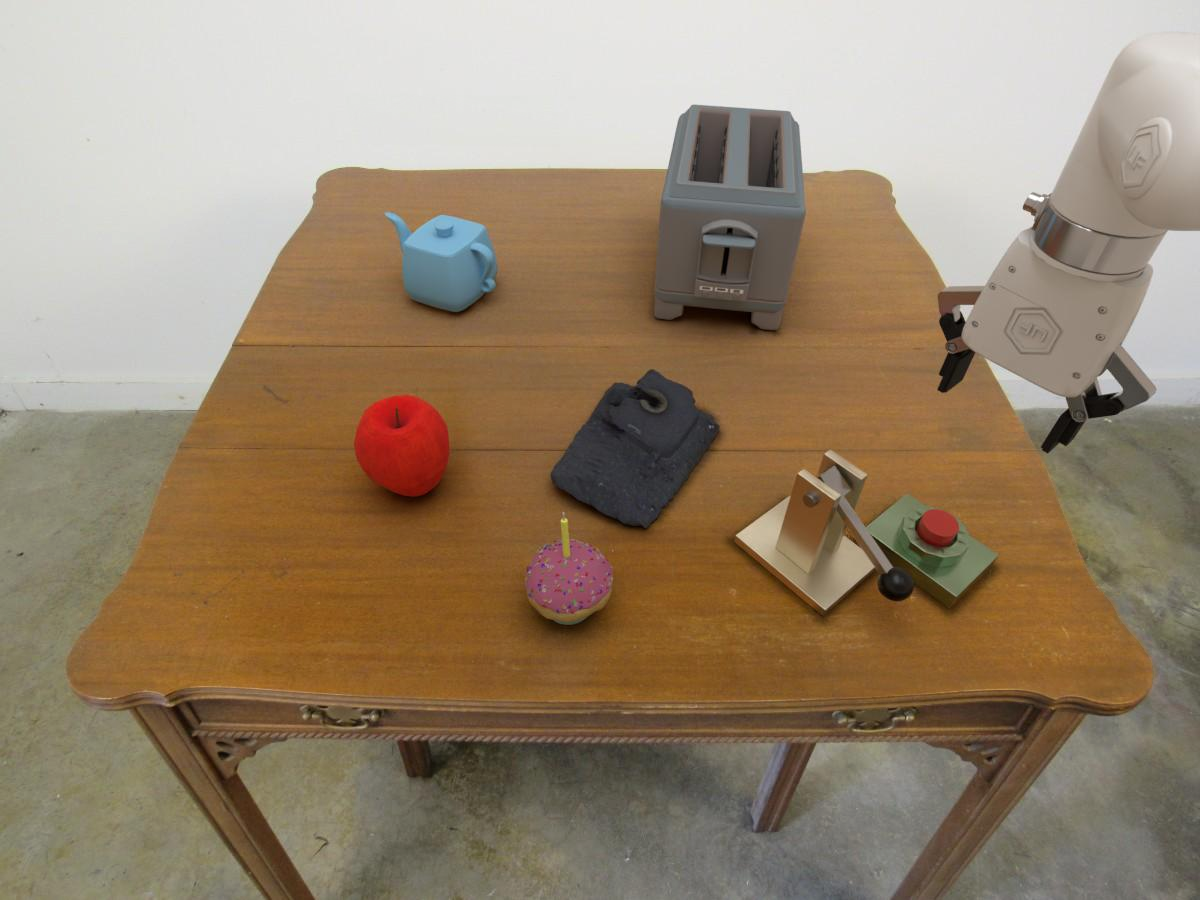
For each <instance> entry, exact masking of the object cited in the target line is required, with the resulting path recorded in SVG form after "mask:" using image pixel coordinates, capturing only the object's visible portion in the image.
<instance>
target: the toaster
mask: <svg viewBox="0 0 1200 900" xmlns="http://www.w3.org/2000/svg"><path fill="white" fill-rule="evenodd" d="M800 134H801V130H800V124H799V122H797V120H795V118H794V117H793V114H792V112H791V111H788V110H779V109H778V110H777V109H765V108H764V109H763V108H751V107H750V108H748V107H735V106H719V105H708V104H691V105H690V106H689V108H688V109H687V110H686V111H684V112H683V113H681V114H680V115H679V117H678V120H677V124H676V129H675V133H674V137H673V142H672V146H671V152H670V157H669V161H668V165H667V170H666V171H667V172H666V174H665V175H666V176H665V179H664V184H663V190H662V194H661V199H660V208H659V222H658V233H657V250H656V263H655V278H654V290H653V291H654V307H653V314H654V317H655V318H656V319H658V320H667V321H672V320H674V319H676V318H679V317H681V316H683V313H684V306H685V307H695V308H706V309H715V310H716V309H717V310H724V311H725V310H726V311H737V312H746V313H747V312H748V313H751V315H750V316H751V318H750V319H751V320H750V322H751V323H752V324H754V325H755V326H757V327H758V328H759V329H760V330H767V331H776V330H778V329H779V328H780V326H781V321H782V317H783V312H784V310H785V306H786V303H787V299H788V294H789V290H790V286H791V281H792V277H793V272H794V268H795V263H796V259H797V255H798V251H799V245H800V241H801V236H802V232H803V228H804V223H805V219H806V215H807V214H806V213H807V212H806V211H807V210H806V196H805V186H804V185H805V184H804V183H805V182H804V172H803V170H804V169H803V158H802V146H801V135H800Z"/></svg>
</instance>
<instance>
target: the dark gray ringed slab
mask: <svg viewBox="0 0 1200 900" xmlns="http://www.w3.org/2000/svg"><path fill="white" fill-rule="evenodd" d="M695 404H696V399H695V397H694V394H693V391H692V390H691V389H690V388H688V387H687V386H685V385H683V384H682V383H679V382H677V381H673V380H672V379H669V378H666V377H665V376H664V375H663V374H661V373H660V371H656V370H655V369H654V368H651V369H649V370H647V371H646V372H645V374H644V375H643V376H642V377H641V378H639V379H637V381H636V385H631V384H629V383H624V382H613V383H612V385H611V386H610V387H608V388H607V389H606V390H605V392H604V395H602V397H601V398H600V399H599V401H598V402H597V404H596V405H595V406H596V407H594V410H593V412H592V413H591V414H590V416H589V418H588V420H587V421H586V422H585V424H582V426H581V428H580V429H579V430H578V431H577V432H576V433H575V435H574V437H573V440H572V442H571V443H569V446H568V447H567V449H566V450H565V452H564V453H563V455H562V456H561V458H560V459H559V460H558V461H557V462H556V464H555V465H554V466H553V469H552V470H551V471H550V480H551V483H552V484H553V485H554V486H555V487H556V488H558V489H560V490H562V491H564V492H565V493H568V494H569V495H571V496H572V497H574V498H575V499H576V500H577V501H581V502H582V503H584V504H587V505H589V506H592V507H593V508H595V509H596V511H598V512H600V513H601V514H603V515H605V516H607V517H611V518H613V519H615V520H617V521H619V522H620V523H622V524H624V525H630V526H633V527H639V526H640V527H641V526H642V527H643V528H644V529H646V528H648V527H649V526H651V524H652V522H654V521H655V520H656V519H657V518H658V517H659V515H660V514H661V513H662V510H663V508H666V507H667V506H668V504H669V502H670V501H671V500H672V499H673V498H674V496H675V495H677V493H678V492H679V491H680V490H681V487H682V486H683V485H684V484H685V483H686V481H687V480H688V479H689V478H688V477H689V476H690V475H691V473H692V472H693V471H694V469H695V467H697V465H698V464H699V462H700V461H701V460H702V458H703V456H704V455H705V452H706V451H707V450H708V449H710V448H711V444H713V441H714V439H716V436H717V435H718V433H719V430H720V425H719V423H717V422H716V421H714V420H713V418H714V416H713V414H710V413H708V412H704V411H703V410H701V409H698V407H697V406H696V405H695Z"/></svg>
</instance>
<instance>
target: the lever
mask: <svg viewBox="0 0 1200 900" xmlns="http://www.w3.org/2000/svg"><path fill="white" fill-rule="evenodd" d="M814 476H815V477H817V478H818V479H819V480H821V481H822V482H824V483H825V484H826V485H828V486H829V487H831V488H832V489H833V490H835V491H836V492H838V493H839V494H840V495H841V498H840V500H839V503H838V506H837V508H836V512H837V513H838V515H839V516H840V518H841V519H842V520H843V522H844V523H845V525H846V526H847V530H848V531H849V532H850V533H851V535H852V537H853V538H854V540H855V541H856V543H857V545H858V546H859V547H860V548H861V549H863V551H864V552H865V554H866V555H867V557H868V558H869V560H870V561H871V563H872V564H873V565H874V567H875V568H876V570H875V571H877V573H878V575H879V576H878V578H877V589H878V591H879V593H880V594H881V595H882V597H883V598H885V599H886V600H889V601H891V602H902V601H906V600H907V599H909V598H910V596H911V595H913V592H914V589H915V583H914V581H913V578H912V576H911V575H910V574H909V573H908V572H907V571H906V570H904V569H902V568H899V567H893V566H892V565H891V563H890V562H889V560H888V559H887V557H886V556H885V555H884V553H883V552H882V550H881V549H880V547H879V546H878V544H877V543H876V542H875V540H874V539H873V537H872V536H871V534H870V533H869V531H868V530H867V529H866V526H865V524H864V523H863V521H862V520H861V518H860V517H859V515H858V514H857V513H856V511H855V509H854V510H853V508H852V507H851V505H850V504H849V503H848V501H847V500H846V498H845V497H844V495H846V494H847V493H848V492H849V491H851V488H850V487H849V486H848V484H847V483H846V481H845V480H844V478H843V477H842V475H841V474H840V473H839V471H838V470H837V468H836V467H835V466H832V467H830V468H828V469H826V470H824V471H822V472H820V473H819V474H818V473H817V474H816V475H814Z"/></svg>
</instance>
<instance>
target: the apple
mask: <svg viewBox="0 0 1200 900" xmlns="http://www.w3.org/2000/svg"><path fill="white" fill-rule="evenodd" d="M354 435H355V436H354V441H353V447H354V453H355V459H356V461H357V462H358V465H359V466H360V468H361V469H362V471H363V472H364V473H365V475H366V476H367V477H368V478H369V479H370V480H371V481H373V482H374V483H376V484H378V485H379V486H382V487H383V488H385V489H386V490H389V491H391V492H393V493H395V494H398V495H401V496H404V497H411V498H413V497H420V496H423V495H425V494H428V492H430V491H432V490H433V489H434V488H435V487H437V485H438V484H439V483H440V481H441V480H442V478H443V476H444V474H445V472H446V470H447V466H448V462H449V458H450V455H451V453H450V452H451V451H450V449H451V448H450V447H451V446H450V437H449V436H450V435H449V430H448V425H447V423H446V422H445V420H444V418H443V417H442V415H441V413H440V412H439V411H438V410H437V409H436V408H435V407H434V406H432V404H430V403H429V402H427V401H425V400H424V399H422V398H420V397H419V396H415V395H409V394H399V395H393V396H388V397H385V398H382V399H379V400H377V401H374V402H373V403H372V404H371V405H369V406H368V407H367V408H366V409H364V411H363V413H362V415H361V418H360V420H359V422H358V424H357V427H356V431H355V434H354Z"/></svg>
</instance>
